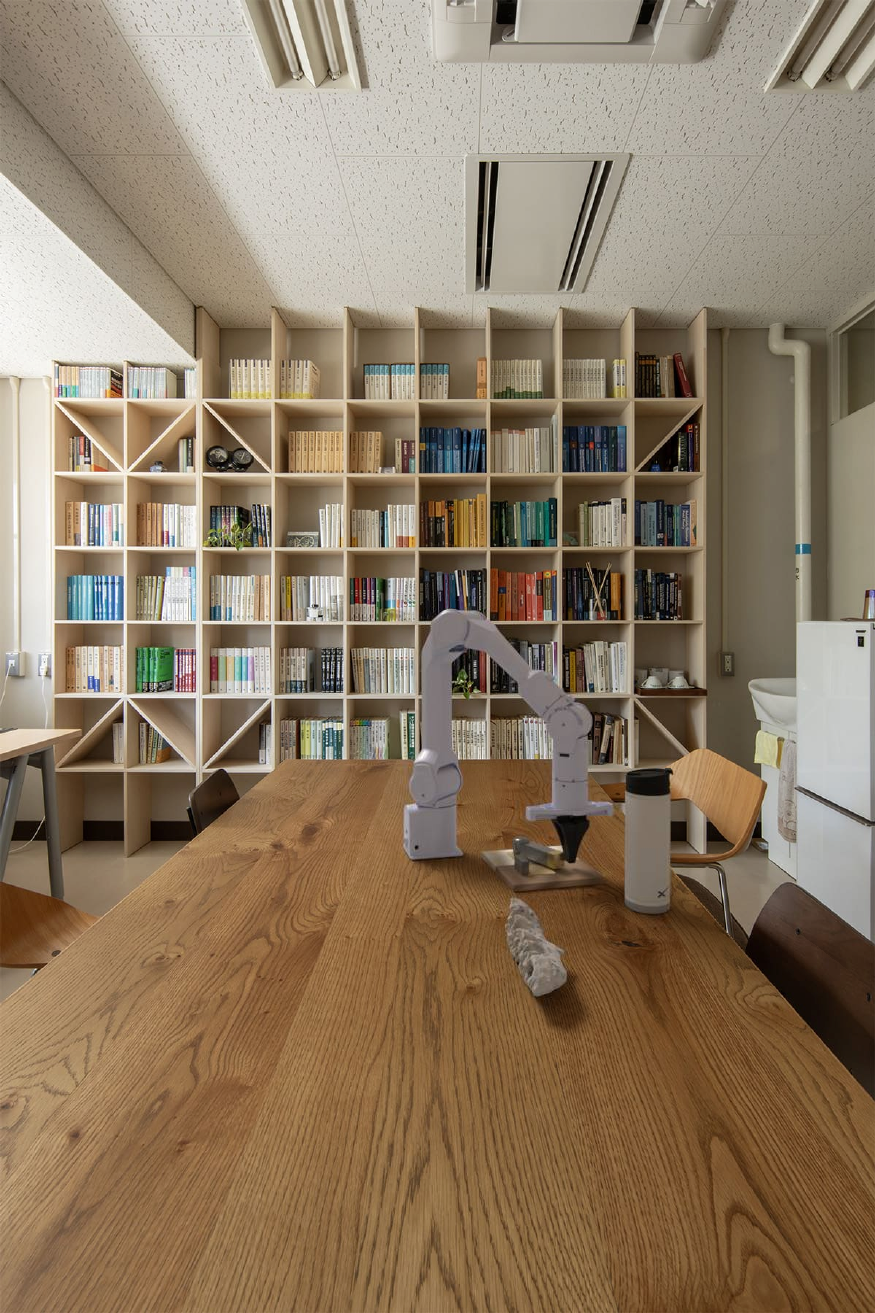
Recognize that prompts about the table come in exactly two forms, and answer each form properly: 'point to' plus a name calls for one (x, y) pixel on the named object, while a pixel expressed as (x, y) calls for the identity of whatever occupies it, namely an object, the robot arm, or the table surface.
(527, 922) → the fossil
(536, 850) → the latch bar
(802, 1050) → the table surface
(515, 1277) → the table surface
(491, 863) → the door board
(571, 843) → the robot arm
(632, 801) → the travel mug
